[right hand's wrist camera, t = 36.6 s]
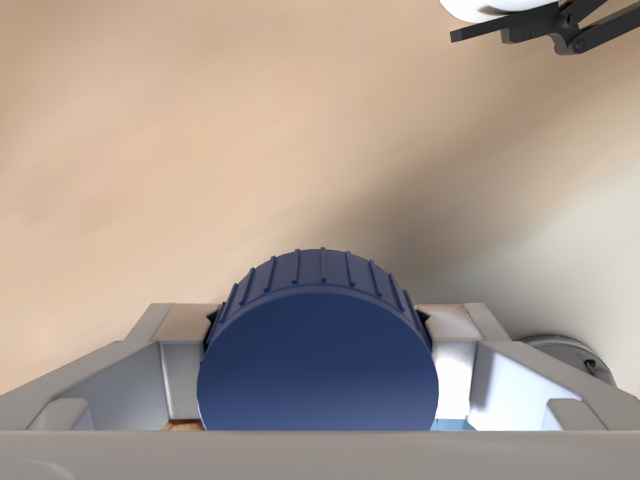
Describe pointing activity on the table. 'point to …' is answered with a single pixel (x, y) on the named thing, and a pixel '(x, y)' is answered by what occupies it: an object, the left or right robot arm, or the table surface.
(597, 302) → the table surface
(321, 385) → the cap
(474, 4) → the bottle
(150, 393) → the right robot arm
